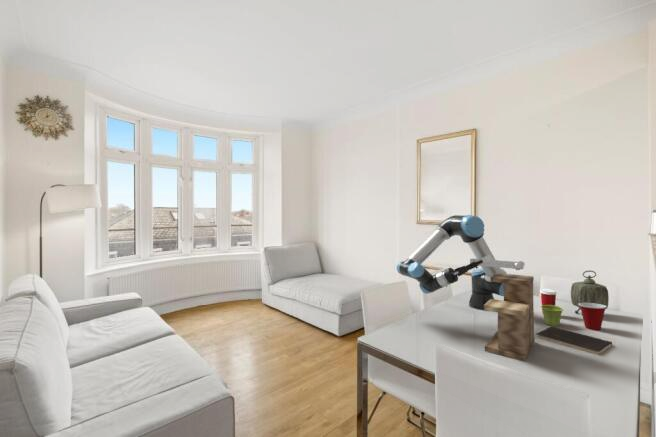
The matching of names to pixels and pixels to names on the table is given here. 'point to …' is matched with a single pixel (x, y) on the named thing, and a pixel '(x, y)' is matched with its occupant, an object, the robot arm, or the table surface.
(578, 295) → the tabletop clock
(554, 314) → the plant pot
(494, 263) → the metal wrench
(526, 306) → the step stand
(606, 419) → the table surface
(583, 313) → the plastic cup
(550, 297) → the paper cup
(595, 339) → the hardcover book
